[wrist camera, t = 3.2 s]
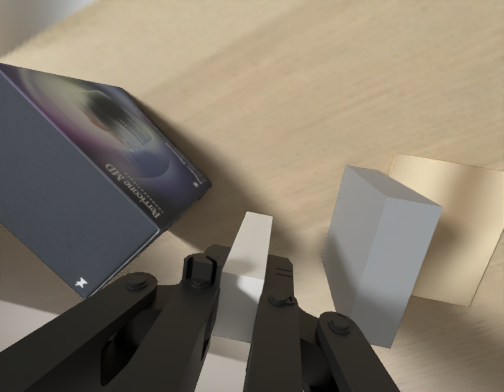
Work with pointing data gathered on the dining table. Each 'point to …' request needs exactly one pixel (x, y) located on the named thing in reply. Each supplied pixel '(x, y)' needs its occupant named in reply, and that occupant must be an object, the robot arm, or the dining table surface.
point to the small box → (86, 175)
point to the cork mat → (455, 224)
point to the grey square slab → (376, 250)
